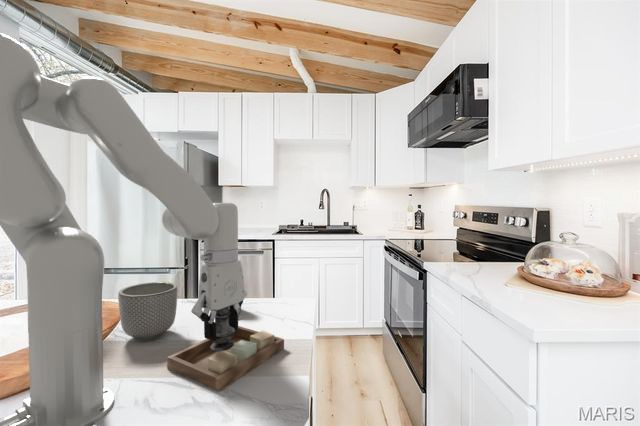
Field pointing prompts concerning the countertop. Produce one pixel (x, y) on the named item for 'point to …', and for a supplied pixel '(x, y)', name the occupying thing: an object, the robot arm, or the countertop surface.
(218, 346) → the salt shaker
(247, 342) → the cube
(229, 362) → the cube
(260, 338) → the cube
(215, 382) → the tray
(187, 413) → the countertop surface
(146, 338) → the planter
